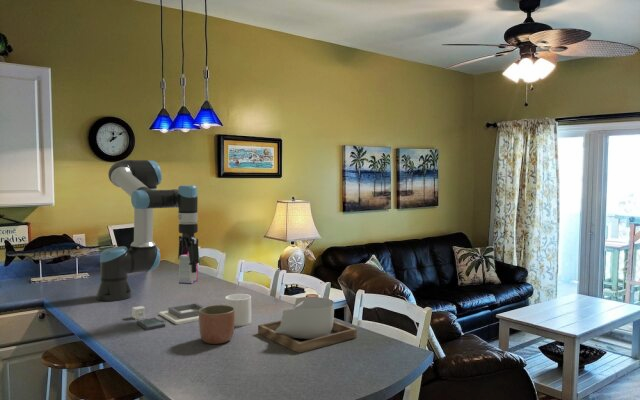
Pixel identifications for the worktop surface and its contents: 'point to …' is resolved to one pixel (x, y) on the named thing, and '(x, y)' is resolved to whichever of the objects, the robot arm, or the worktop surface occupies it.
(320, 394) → the worktop surface
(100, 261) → the robot arm
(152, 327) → the phone
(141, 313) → the white cube
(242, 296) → the mug
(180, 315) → the plate
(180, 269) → the supplement box
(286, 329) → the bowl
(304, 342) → the wooden tray
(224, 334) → the planter
